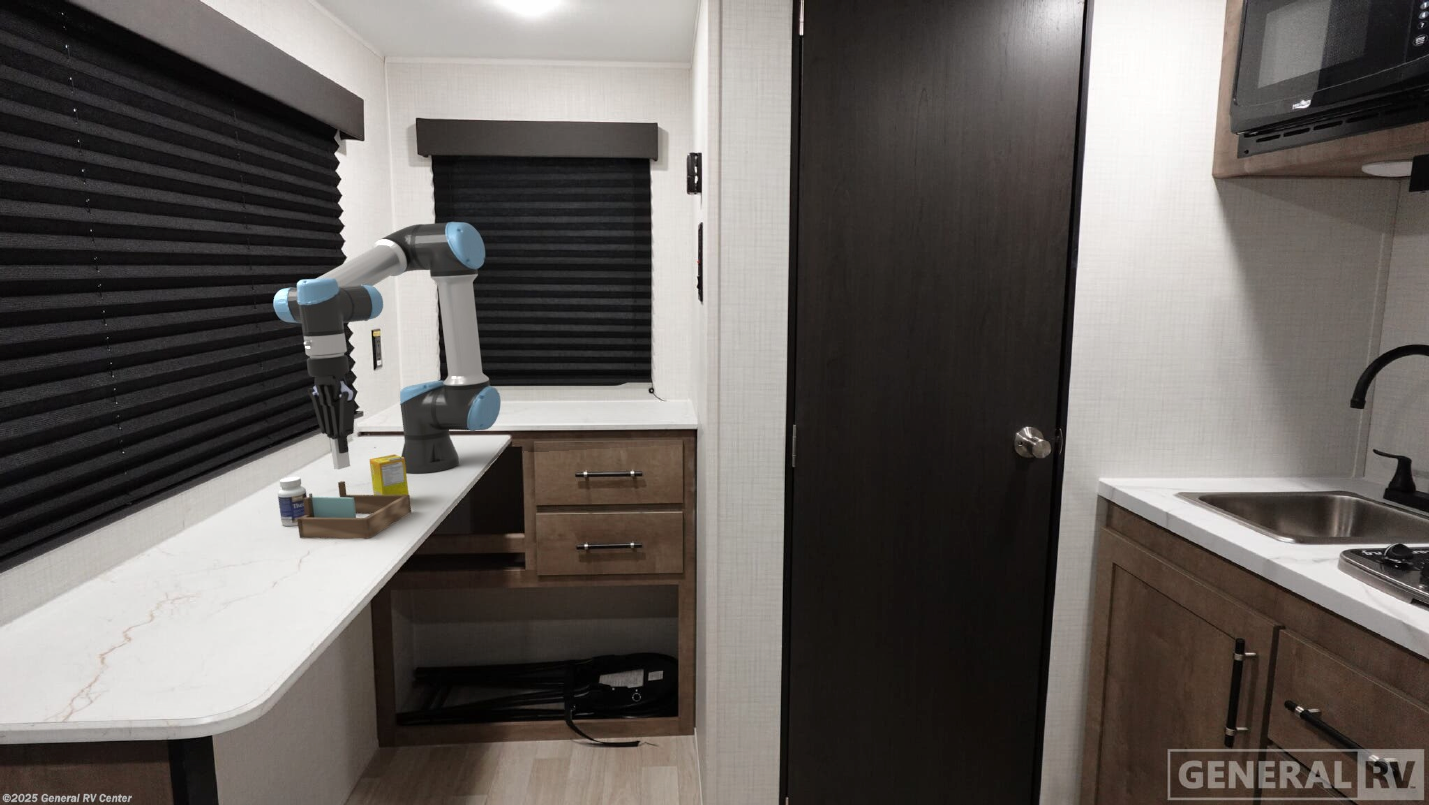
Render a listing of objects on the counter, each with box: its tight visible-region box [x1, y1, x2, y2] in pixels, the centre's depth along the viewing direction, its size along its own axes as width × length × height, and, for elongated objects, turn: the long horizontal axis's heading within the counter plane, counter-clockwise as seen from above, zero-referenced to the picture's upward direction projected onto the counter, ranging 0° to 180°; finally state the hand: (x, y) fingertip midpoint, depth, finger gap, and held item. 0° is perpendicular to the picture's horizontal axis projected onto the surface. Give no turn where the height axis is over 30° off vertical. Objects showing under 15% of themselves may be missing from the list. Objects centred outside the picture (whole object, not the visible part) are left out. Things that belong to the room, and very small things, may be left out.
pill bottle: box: [277, 476, 308, 527], centre depth 167 cm, size 5×5×10 cm
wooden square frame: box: [297, 480, 412, 540], centre depth 165 cm, size 17×15×8 cm
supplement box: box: [369, 454, 410, 495], centre depth 179 cm, size 6×6×11 cm
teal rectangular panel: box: [312, 496, 357, 518], centre depth 161 cm, size 9×1×7 cm, turn 79°
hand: (342, 467), depth 163 cm, fingers closed
